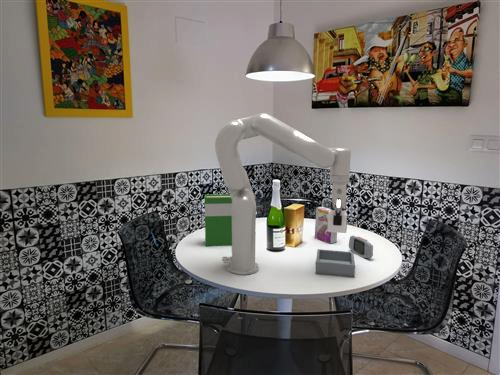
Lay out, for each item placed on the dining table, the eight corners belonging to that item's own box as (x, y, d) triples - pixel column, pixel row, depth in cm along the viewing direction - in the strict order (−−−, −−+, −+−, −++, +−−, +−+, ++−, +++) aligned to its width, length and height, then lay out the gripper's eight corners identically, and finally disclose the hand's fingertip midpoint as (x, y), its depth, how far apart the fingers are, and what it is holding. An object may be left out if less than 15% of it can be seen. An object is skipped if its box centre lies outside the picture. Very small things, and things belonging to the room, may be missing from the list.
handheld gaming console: (347, 250, 173) (348, 234, 172) (352, 249, 174) (353, 233, 173) (368, 261, 160) (370, 243, 159) (374, 260, 161) (375, 242, 160)
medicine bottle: (346, 233, 145) (348, 203, 142) (327, 232, 146) (329, 202, 144) (345, 228, 152) (347, 199, 149) (327, 227, 153) (329, 198, 151)
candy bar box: (314, 238, 190) (315, 207, 187) (321, 236, 193) (322, 206, 190) (330, 244, 181) (331, 212, 178) (337, 242, 184) (338, 210, 181)
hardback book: (240, 240, 186) (240, 193, 181) (242, 245, 179) (242, 197, 174) (205, 241, 184) (204, 194, 179) (205, 246, 176) (204, 197, 172)
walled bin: (315, 273, 146) (315, 261, 145) (317, 260, 161) (317, 249, 160) (354, 277, 143) (355, 265, 142) (352, 263, 157) (353, 252, 157)
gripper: (350, 183, 136) (347, 229, 139) (348, 176, 153) (346, 217, 156) (329, 182, 137) (327, 227, 141) (330, 175, 154) (328, 216, 157)
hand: (337, 222), depth 148 cm, fingers closed on medicine bottle, 7 cm apart
